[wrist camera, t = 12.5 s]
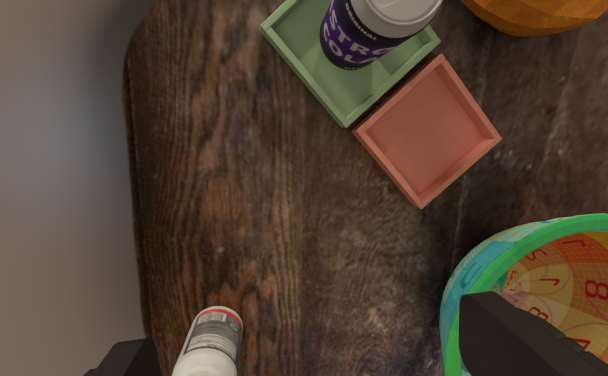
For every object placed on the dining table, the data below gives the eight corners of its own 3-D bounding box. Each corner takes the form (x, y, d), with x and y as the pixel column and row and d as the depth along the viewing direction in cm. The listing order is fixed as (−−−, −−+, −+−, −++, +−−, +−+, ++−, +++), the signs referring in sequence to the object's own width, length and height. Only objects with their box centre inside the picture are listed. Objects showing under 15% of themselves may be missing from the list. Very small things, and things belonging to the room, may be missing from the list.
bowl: (446, 159, 31) (525, 175, 22) (615, 223, 35) (748, 261, 25) (366, 344, 35) (403, 430, 25) (527, 384, 38) (614, 473, 29)
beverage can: (310, 14, 27) (339, -73, 15) (371, -4, 27) (447, -104, 15) (327, 79, 28) (366, 46, 16) (385, 62, 28) (466, 17, 16)
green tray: (261, 32, 27) (260, 25, 25) (355, -58, 26) (362, -73, 24) (341, 128, 30) (346, 128, 28) (429, 47, 29) (441, 41, 27)
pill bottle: (227, 356, 33) (208, 449, 24) (182, 335, 32) (144, 423, 23) (253, 318, 33) (245, 397, 23) (209, 295, 32) (181, 368, 22)
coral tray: (350, 130, 30) (356, 131, 28) (430, 58, 29) (442, 52, 27) (412, 204, 32) (421, 209, 30) (487, 138, 31) (502, 139, 29)
